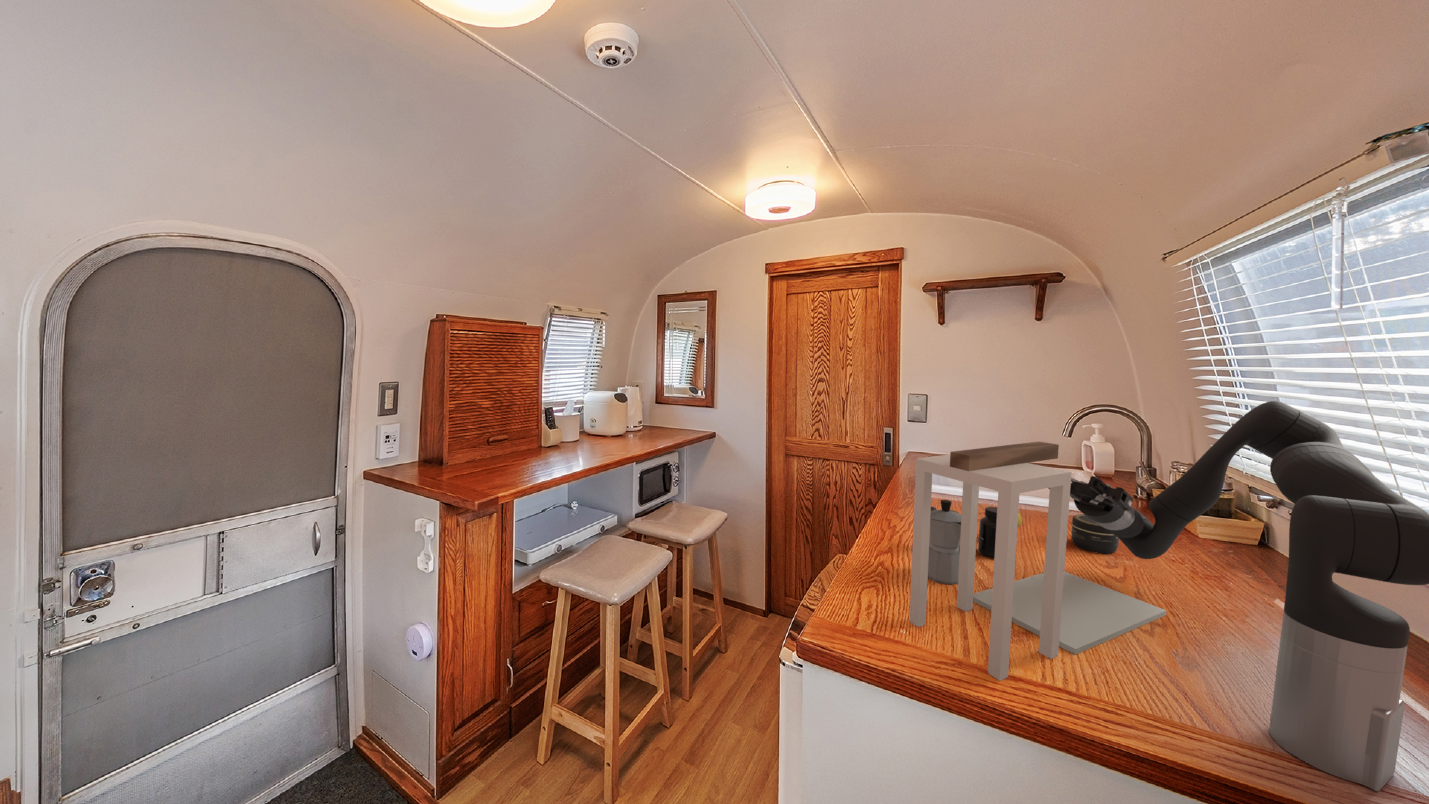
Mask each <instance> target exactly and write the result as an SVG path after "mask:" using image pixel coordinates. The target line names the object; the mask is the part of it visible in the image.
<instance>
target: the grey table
mask: <svg viewBox="0 0 1429 804" xmlns="http://www.w3.org/2000/svg"><path fill="white" fill-rule="evenodd" d="M1072 474H1073V473H1072V471H1069V470H1064V469H1059V468H1054V467H1049V466H1044V465H1039V464H1036V463H1031V462H1030V463H1023V464H1016V465H1009V466H1002V467H995V468H988V469H981V470H974V471H965V470H961V469H957V468H953V467H950V454H949V453H948V454H943V455H935V456H934V455H933V456H926V457H918V458H916V459H915V475H914V477H915V478H914V479H915V480H914V503H913V504H914V505H913V526H912V527H913V528H912V530H913V531H912V550H911V552H912V554H911V575H910V576H911V577H910V578H911V579H910V599H909V600H910V601H909V603H910V604H909V623H911V624H912V625H914V626H916V627H917V628H919V627H922V626H926V625H927V623H926V622H927V600H928V582H929V581H928V580H929V579H928V559H929V537H930V514H931V507H932V490H933V489H932V488H933V487H932V486H933V475H937V476H940V477H944V478H948V479H950V480H951V479H952V480H954V481H955V480H956V481H958V482H962V498H961V535H960V554H959V574H958V584H957V596H956V597H957V598H956V608H958V609H959V610H961V611H963V612H969V611H972V610H973V606H974V602H973V594H974V592H975V591H974V590H975V589H974V587H975V570H976V555H977V554H976V553H977V552H976V551H977V550H976V549H977V535H978V534H977V531H978V517H979V516H978V514H979V499H980V498H979V495H980V488H985V489H988V490H993V491H996V492H997V505H996V507H997V523H996V540H995V557H994V559H993V560H994V562H993V574H992V575H993V576H992V588H993V592H992V609H991V613H990V614H991V615H990V627H989V628H990V630H989V645H988V647H989V648H988V665H987V674H989V675H990V676H992V677H993V678H995V679H997V680H998V681H999V682H1000V681H1003V680H1005V679H1008V678H1009V670H1010V669H1009V667H1010V652H1011V651H1010V650H1011V637H1012V636H1011V634H1012V623H1013V622H1012V607H1013V591H1014V581H1015V576H1016V575H1015V573H1016V558H1017V557H1016V556H1017V542H1018V541H1017V539H1018V529H1017V527H1018V512H1020V511H1019V507H1020V494H1023V493H1029V492H1034V491H1039V490H1045V489H1048V488H1050V489H1049V495H1048V508H1047V509H1048V510H1047V511H1048V512H1047V525H1046V537H1045V538H1046V539H1045V552H1044V554H1045V555H1044V565H1043V566H1044V567H1043V573H1044V580H1043V594H1042V609H1041V623H1040V636H1039V640H1038V641H1039V642H1038V654H1041V655H1043V656H1045V657H1047V658H1048V659H1050V660H1053V659H1054V658H1056V657H1059V650H1060V649H1059V648H1060V647H1059V637H1060V623H1061V609H1062V596H1063V582H1064V571H1065V567H1066V552H1067V542H1068V541H1067V540H1068V539H1067V538H1068V525H1069V513H1070V500H1071V499H1070V498H1071V497H1070V487H1071V483H1072V482H1071V478H1072ZM1018 528H1019V527H1018Z"/></svg>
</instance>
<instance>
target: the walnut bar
mask: <svg viewBox="0 0 1429 804" xmlns="http://www.w3.org/2000/svg"><path fill="white" fill-rule="evenodd" d="M1059 447H1060V446H1059V444H1057V443H1051V442H1043V441H1032V442H1031V441H1030V442H1022V443H1014V444H1007V445H1006V444H1005V445H996V446H989V447H982V448H981V447H980V448H973V449H972V448H971V449H963V450H953V451H950V467H953V468H957V469H961V470H965V471H974V470H981V469H988V468H995V467H1002V466H1009V465H1016V464H1023V463H1030V464H1031V463H1036V462H1041V461H1049V460H1056V459H1059Z"/></svg>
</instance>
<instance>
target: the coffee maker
mask: <svg viewBox="0 0 1429 804" xmlns="http://www.w3.org/2000/svg"><path fill="white" fill-rule="evenodd" d="M952 503H953V502H952V501H951V500H949V499H941V500H940V507H941V509H937V507H935V506H931V514H930V537H929V559H928V580H931V581H932V582H934V583H936V584H937V583H938V584H944V585H948V586H953V585H958V574H959V546H960V535H961V515H962V513H960V512H958V513H956V512H952V511H950V510H951V507H952V506H951V505H952ZM959 513H960V514H959Z"/></svg>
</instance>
